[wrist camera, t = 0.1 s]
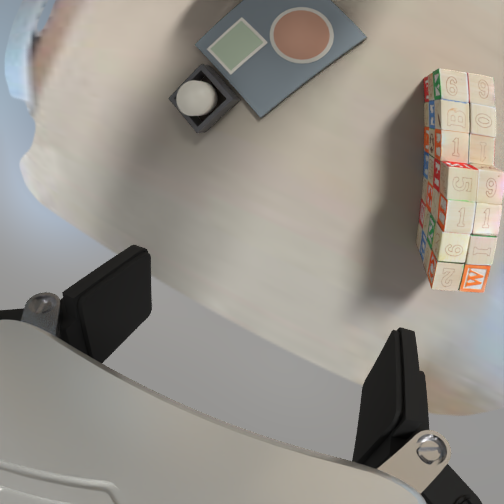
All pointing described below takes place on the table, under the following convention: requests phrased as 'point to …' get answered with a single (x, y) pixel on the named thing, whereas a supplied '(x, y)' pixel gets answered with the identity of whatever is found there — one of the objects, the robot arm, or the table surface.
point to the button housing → (220, 111)
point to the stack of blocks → (459, 181)
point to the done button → (196, 98)
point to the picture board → (277, 46)
